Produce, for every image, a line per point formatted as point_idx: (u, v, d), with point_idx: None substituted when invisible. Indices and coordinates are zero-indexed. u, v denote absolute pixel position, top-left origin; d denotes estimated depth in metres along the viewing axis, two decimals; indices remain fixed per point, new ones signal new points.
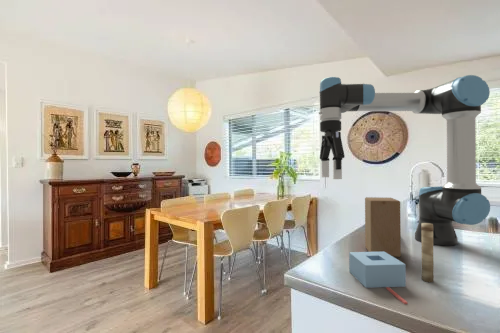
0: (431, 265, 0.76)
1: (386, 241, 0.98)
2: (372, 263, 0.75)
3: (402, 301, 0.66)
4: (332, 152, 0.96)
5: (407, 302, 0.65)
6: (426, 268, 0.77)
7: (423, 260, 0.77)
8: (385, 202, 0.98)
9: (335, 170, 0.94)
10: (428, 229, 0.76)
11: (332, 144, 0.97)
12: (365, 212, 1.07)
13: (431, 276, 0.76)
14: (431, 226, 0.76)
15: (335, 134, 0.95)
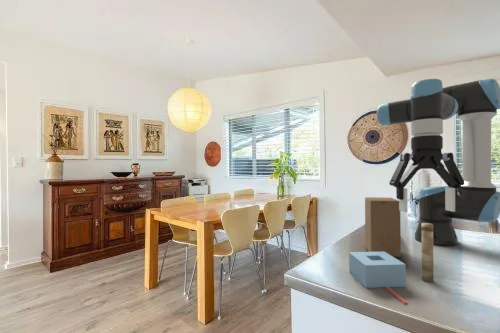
0: (431, 265, 0.76)
1: (386, 241, 0.98)
2: (372, 263, 0.75)
3: (402, 301, 0.66)
4: None
5: (407, 302, 0.65)
6: (426, 268, 0.77)
7: (423, 260, 0.77)
8: (385, 202, 0.98)
9: (400, 200, 0.78)
10: (428, 229, 0.76)
11: (410, 168, 0.78)
12: (365, 212, 1.07)
13: (431, 276, 0.76)
14: (431, 226, 0.76)
15: (401, 156, 0.78)
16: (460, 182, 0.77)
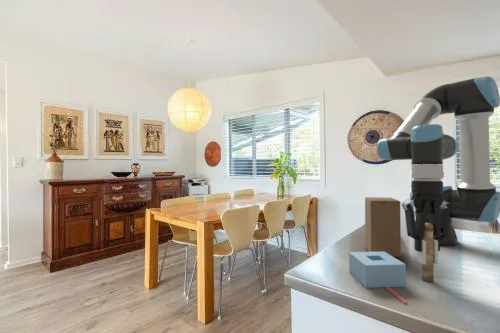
0: (430, 264, 0.76)
1: (386, 241, 0.98)
2: (372, 263, 0.75)
3: (402, 301, 0.66)
4: None
5: (407, 302, 0.65)
6: (426, 268, 0.77)
7: None
8: (385, 202, 0.98)
9: (418, 251, 0.79)
10: (428, 229, 0.76)
11: (417, 215, 0.78)
12: (365, 212, 1.07)
13: (431, 276, 0.76)
14: (431, 226, 0.76)
15: (404, 207, 0.78)
16: (444, 233, 0.77)
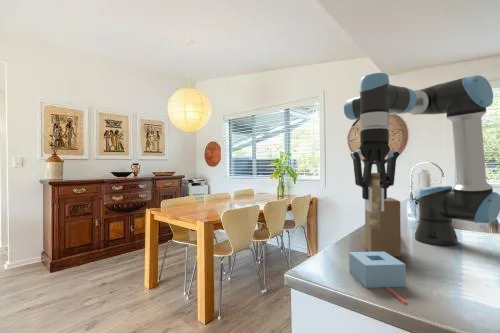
0: (377, 212, 0.78)
1: (386, 241, 0.98)
2: (372, 263, 0.75)
3: (402, 301, 0.66)
4: None
5: (407, 302, 0.65)
6: (373, 216, 0.78)
7: None
8: (385, 202, 0.98)
9: (366, 199, 0.80)
10: (374, 177, 0.78)
11: (364, 164, 0.80)
12: (365, 212, 1.07)
13: (377, 223, 0.78)
14: (377, 174, 0.78)
15: (352, 156, 0.79)
16: (390, 181, 0.78)
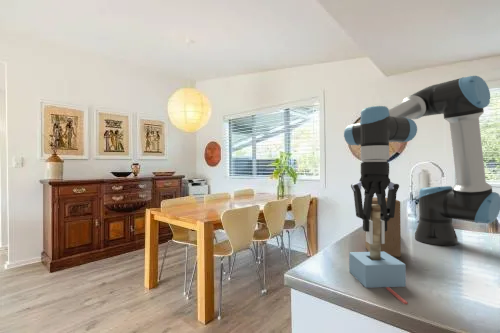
0: (377, 244, 0.78)
1: (386, 241, 0.98)
2: (372, 263, 0.75)
3: (402, 301, 0.66)
4: None
5: (407, 302, 0.65)
6: (373, 248, 0.78)
7: None
8: None
9: (366, 231, 0.80)
10: (375, 210, 0.78)
11: (365, 196, 0.80)
12: None
13: (378, 256, 0.78)
14: (378, 207, 0.78)
15: (352, 188, 0.80)
16: (390, 214, 0.78)
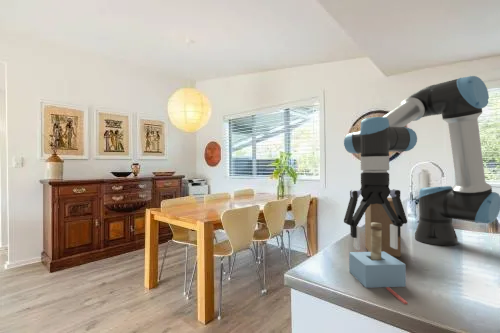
0: None
1: (386, 241, 0.98)
2: (372, 263, 0.75)
3: (402, 301, 0.66)
4: None
5: (407, 302, 0.65)
6: None
7: (371, 259, 0.79)
8: None
9: (354, 237, 0.80)
10: (376, 228, 0.78)
11: (360, 204, 0.80)
12: (365, 212, 1.07)
13: None
14: (379, 225, 0.78)
15: (350, 194, 0.80)
16: (403, 220, 0.78)
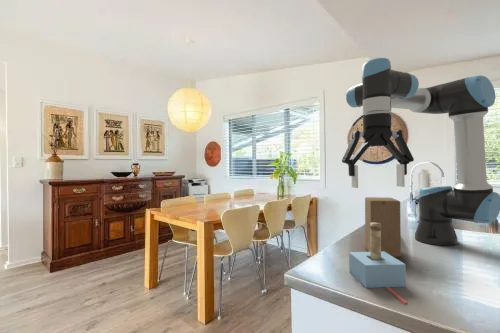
0: None
1: (386, 241, 0.98)
2: (372, 263, 0.75)
3: (402, 301, 0.66)
4: None
5: (407, 302, 0.65)
6: None
7: (371, 259, 0.79)
8: (385, 202, 0.98)
9: (352, 177, 0.81)
10: (375, 228, 0.78)
11: (361, 145, 0.81)
12: (365, 212, 1.07)
13: None
14: (378, 225, 0.78)
15: (353, 134, 0.80)
16: (409, 158, 0.79)
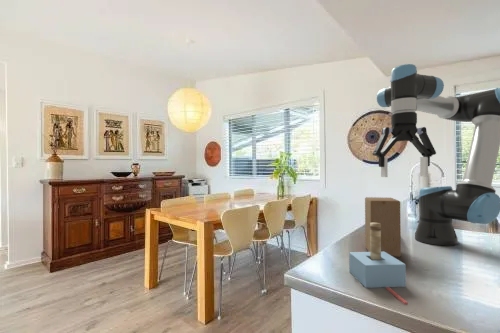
0: None
1: (386, 241, 0.98)
2: (372, 263, 0.75)
3: (402, 301, 0.66)
4: None
5: (407, 302, 0.65)
6: None
7: (371, 259, 0.79)
8: (385, 202, 0.98)
9: (381, 167, 0.92)
10: (375, 228, 0.78)
11: (390, 140, 0.92)
12: (365, 212, 1.07)
13: None
14: (378, 225, 0.78)
15: (382, 130, 0.92)
16: (432, 152, 0.91)
